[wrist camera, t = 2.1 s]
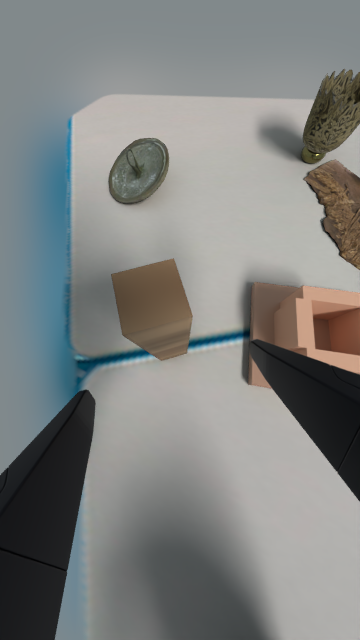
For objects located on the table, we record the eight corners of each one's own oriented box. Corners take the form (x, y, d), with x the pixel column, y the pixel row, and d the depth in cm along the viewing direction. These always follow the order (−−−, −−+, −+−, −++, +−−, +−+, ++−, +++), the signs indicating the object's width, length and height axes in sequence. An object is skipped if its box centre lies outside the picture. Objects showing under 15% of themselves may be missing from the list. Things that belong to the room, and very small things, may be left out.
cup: (287, 142, 31) (321, 66, 23) (330, 145, 30) (379, 68, 23) (288, 171, 28) (327, 97, 21) (335, 175, 28) (392, 100, 20)
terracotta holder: (366, 404, 18) (433, 414, 13) (248, 384, 18) (270, 387, 14) (349, 298, 21) (398, 276, 17) (251, 286, 22) (270, 261, 17)
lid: (183, 193, 27) (183, 154, 23) (128, 219, 26) (115, 184, 21) (151, 156, 30) (145, 115, 25) (99, 178, 29) (83, 139, 24)
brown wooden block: (186, 353, 20) (192, 315, 7) (161, 360, 19) (122, 335, 7) (179, 328, 20) (173, 258, 8) (155, 335, 20) (111, 274, 8)
